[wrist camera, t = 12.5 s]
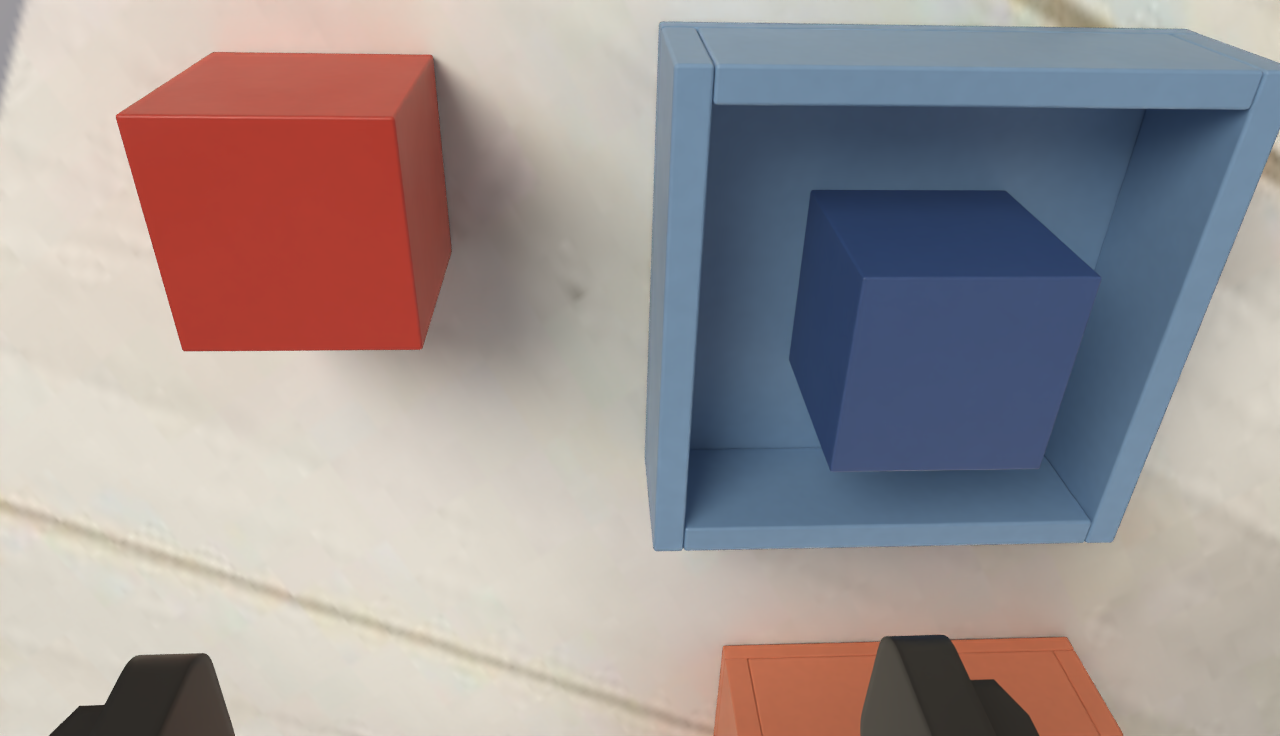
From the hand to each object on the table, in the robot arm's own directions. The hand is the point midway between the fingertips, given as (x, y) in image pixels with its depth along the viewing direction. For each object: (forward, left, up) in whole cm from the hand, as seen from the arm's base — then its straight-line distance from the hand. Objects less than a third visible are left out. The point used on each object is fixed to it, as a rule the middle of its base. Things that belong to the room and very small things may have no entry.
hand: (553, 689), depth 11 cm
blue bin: (+8, -1, -14) cm, 17 cm away
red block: (-6, +2, -14) cm, 15 cm away
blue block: (+9, -1, -14) cm, 16 cm away
